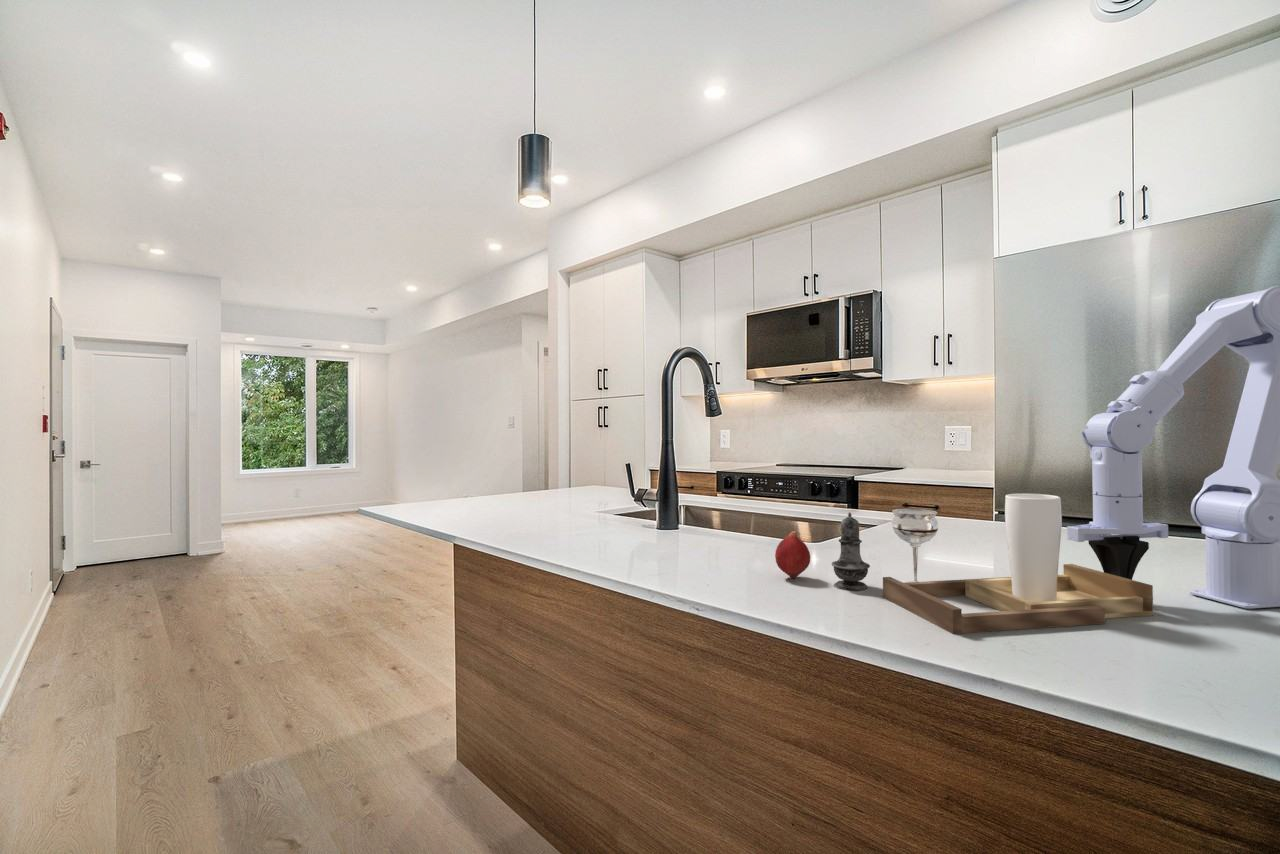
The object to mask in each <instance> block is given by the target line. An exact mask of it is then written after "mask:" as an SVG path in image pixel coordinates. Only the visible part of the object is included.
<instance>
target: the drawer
mask: <svg viewBox="0 0 1280 854" xmlns="http://www.w3.org/2000/svg"><path fill="white" fill-rule="evenodd" d="M994 578H995V579H982V578H975V579H976V580H965V595H964V596H965V597H966V598H969V599H971V600H974V601H976V602H979V603H981V604H984V605H986V606H988V607H991V608H993V609H996V610H998V611H1014V610H1030V609H1046V608H1062V607H1078V606H1095V605H1097V606H1100V607H1103V608H1105V619H1116V618H1117V619H1118V618H1134V617H1145V616H1146V617H1147V616H1148V617H1149V616H1154V599H1153V598H1154V597H1153V596H1154V595H1153V594H1154V590H1153V588H1154V587H1153V585H1152V584H1149V583H1145V582H1141V581H1138V580H1134V579H1132V580H1131V579H1127V578H1123V577H1119V576H1116V575H1112V574H1108V573H1104V571H1100V570H1096V569H1092V568H1089V567H1085V566H1081V565H1077V564H1074V563H1067V564H1066V563H1064V564H1063V574H1058V577H1057V601H1044V602H1030V601H1027V600H1024V599H1022V598H1019V597H1016V596H1014V595H1012V581H1011V578H1000V577H994Z"/></svg>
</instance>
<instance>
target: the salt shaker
mask: <svg viewBox="0 0 1280 854" xmlns="http://www.w3.org/2000/svg"><path fill="white" fill-rule="evenodd" d="M847 516H848V517H846V518H843V519H842V520H841V522H840V539H838V542H839V543H840V555H839V558H838V560H835V561H832V562H831V566H832V567H833V572H834V574H835V576H836V577H837V578H838V579H839V580H838V581H837V582H835V583H833V587H834V588H836V589H839V590H842V591H847V592H848V591H850V592H861V591H866V590H868V589H869V586H868V585H867V583H865V582H863V580H864V579H865V578H866V577H867V574H868V572H869V569H870V567H871V565H870V564H869V563H867V562H865V561H863V560H862V555H861V543H862V542H863V541H862V540H861V539H860V522H859V521H858V519H856V518H854V517H852V513H851V512H850V511H849V512H848V514H847Z"/></svg>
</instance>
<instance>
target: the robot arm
mask: <svg viewBox="0 0 1280 854" xmlns="http://www.w3.org/2000/svg"><path fill="white" fill-rule="evenodd" d="M1224 346H1225V347H1226V348H1228V349H1229V350H1231V351H1233V352H1235V353H1236V354H1237V355H1239V356H1242V357H1243V358H1244V360H1246V361H1247V362H1248V363H1249V368H1248V371H1247V375H1246V379H1245V382H1244V386H1243V391H1242V393H1241V397H1240V400H1239V404H1238V409H1237V412H1236V416H1235V419H1234V420H1235V421H1234V424H1233V427H1232V431H1231V435H1230V439H1229V442H1228V446H1227V450H1226V453H1225V457H1224V460H1223V465H1222V466H1221V468H1219V469H1218V470H1216V471H1215V472H1213V473H1212V474H1210V475H1208V476H1207V477H1205V479H1204V481H1203V485H1202V488H1200V489H1201V490H1200V491H1199V492H1198V493H1197V494H1196V495H1195V496H1194V498H1193V499H1192V500H1191V505H1190V514H1191V517H1192V519H1193V521H1194V522H1195V523H1196V524H1197V525H1198V526H1199V527H1200V528H1201V534H1202V535H1205V576H1206V577H1205V583H1206V585H1205V589H1192V590H1189V594H1190V595H1193V596H1196V597H1202V598H1204V599H1209V600H1213V601H1216V602H1220V603H1224V604H1227V605H1231V606H1235V607H1238V608H1243V609H1247V610H1248V609H1249V610H1253V609H1264V608H1265V609H1266V608H1276V607H1277V608H1280V479H1279V478H1278V477H1277V472H1278V468H1279V464H1280V285H1276V286H1275V285H1274V286H1270V287H1269V288H1267V289H1263V290H1259V291H1258V290H1257V291H1254V292H1250V293H1246V294H1245V293H1244V294H1240V295H1237V296H1236V295H1235V296H1232V297H1223V298H1219V299H1216V300H1214V301H1212V302H1211V303H1209V305H1208V306H1206V308H1205V309H1204V311H1202V312H1201V313H1199V314H1198V315H1197V316H1196V318H1195V325H1194V326H1193V327H1192V329H1191V330H1190V331H1188V333H1187V334H1186V336H1185V337H1184V338H1183V339H1182V340H1181V341H1180V342H1179V344H1178V345H1177V346H1176V347H1175V349H1174V350H1173V351H1172V352H1171V353H1170V354H1169V356H1168V357H1167V358H1166V359H1165V361H1164V362H1163V363H1162V364H1161V365H1160V367H1159V368H1158V369H1157V370H1148V371H1147V370H1146V371H1144V372H1142V373H1140V374H1137V375H1135V374H1134V375H1133V377H1132V378H1130V380H1129V383H1130V385H1129V386H1128V387H1127V388H1126V389H1125V390H1124V391H1123V392H1122V393H1121V395H1119V396H1118V397H1117V399H1116V400H1113V401H1112V400H1111V401H1110V402H1109V403H1108V405H1107V409H1106V412H1100V413H1097V414H1095V415H1093V416H1092V417H1090V418H1089V420H1088V421H1087V423H1086V426H1085V427H1084V428H1085V429H1084V430H1082V431H1081V432H1080V434H1081V438H1082V441H1083V443H1084V444H1085V445H1086V447H1087V448H1088V449H1089V456H1090V457H1089V458H1090V459H1091V464H1092V465H1091V467H1092V468H1091V470H1092V471H1091V472H1092V474H1091V475H1092V479H1091V480H1092V521H1089V523H1086V524H1079V525H1072V526H1069V525H1068V526H1066V533H1067V534H1066V535H1067V536H1066V537H1067V541H1072V542H1077V543H1084V542H1085V541H1088V545H1089V546H1090V547H1091V550H1093V552H1094V554H1095V555H1096V557H1097V559H1098V561H1099V563H1100V566H1101V567H1102V572H1104V573H1108V574H1112V575H1116V576H1119V577H1123V578H1127V579H1131V580H1133V577H1134V575H1135V572H1136V570H1137V567H1138V565H1139V563H1140V562H1141V560H1142V558H1143V557H1144V556H1145V554H1146V553H1147V552H1148V550H1149V549H1150V543H1149V541H1145V540H1144V541H1143V540H1141V539H1145V538H1147V539H1148V538H1160V539H1168V538H1169V525H1168V524H1165V523H1161V522H1144V507H1143V506H1144V504H1143V496H1144V495H1143V450H1144V449H1145V448H1146V447H1148V446H1150V445H1151V444H1152V442H1153V440H1154V435H1155V429H1156V426H1158V423H1159V421H1161V420H1162V418H1163V417H1165V416H1166V414H1168V412H1170V411H1171V409H1172V408H1173V407H1175V405H1176V404H1177V403H1178V402H1179V401H1180V400H1182V398H1183V397H1184V395H1185V389H1184V385H1183V383H1185V382H1186V381H1187V380H1188V379H1189V378H1190V377H1191V376H1192V375H1193V374H1194V373H1196V371H1198V370H1199V369H1200V368H1201V367H1202V366H1203V365H1204V364H1206V363H1207V362H1208V361H1209V360H1210V359H1211V358H1212V357H1213V356H1215V355H1216V353H1218V352H1219V351H1220V350H1221V349H1223V347H1224Z"/></svg>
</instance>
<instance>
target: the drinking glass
mask: <svg viewBox="0 0 1280 854" xmlns="http://www.w3.org/2000/svg"><path fill="white" fill-rule="evenodd" d="M1061 501H1062V500H1061V497H1060V496H1058V495H1053V494H1052V495H1051V494H1042V493H1009V494H1005V499H1004V521H1005V524H1004V525H1005V534H1006V535H1005V536H1006V542H1007V543H1006V544H1007V551H1008V559H1009V568H1010V569H1009V570H1010V577H1011V581H1012V595H1014V596H1016V597H1019V598H1022V599H1024V600H1027V601H1030V602H1044V601H1057V577H1058V575H1059V562H1060V553H1061V552H1060V550H1061V543H1062V542H1061V540H1062V528H1063V527H1062V526H1063V525H1062V523H1063V522H1062V521H1063V517H1062V516H1063V513H1062V502H1061Z"/></svg>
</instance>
